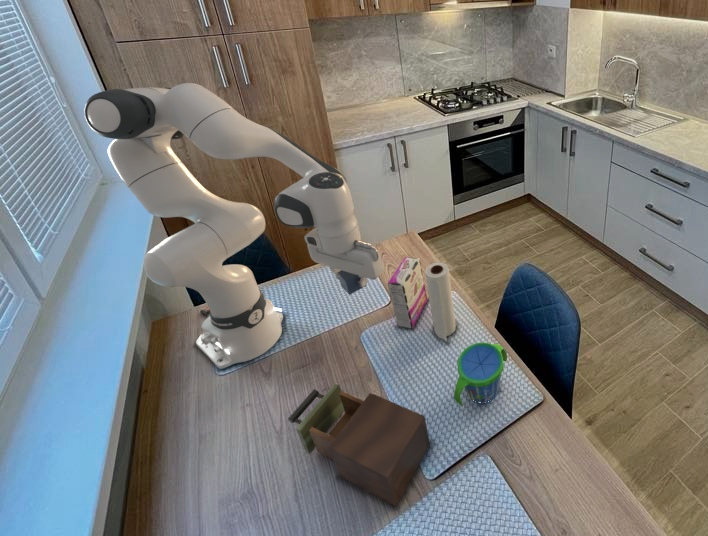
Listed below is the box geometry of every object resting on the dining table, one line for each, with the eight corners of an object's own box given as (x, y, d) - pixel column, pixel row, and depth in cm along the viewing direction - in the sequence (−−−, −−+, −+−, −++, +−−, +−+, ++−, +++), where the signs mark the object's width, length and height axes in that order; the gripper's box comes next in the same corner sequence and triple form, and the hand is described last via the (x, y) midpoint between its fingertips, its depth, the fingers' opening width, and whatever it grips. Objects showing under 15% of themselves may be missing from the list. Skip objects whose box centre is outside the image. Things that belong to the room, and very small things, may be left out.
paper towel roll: (441, 317, 117) (432, 259, 108) (459, 323, 115) (452, 264, 106) (427, 337, 111) (417, 276, 102) (447, 343, 109) (438, 282, 99)
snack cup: (470, 430, 88) (467, 400, 84) (443, 397, 95) (438, 367, 91) (521, 383, 98) (521, 354, 93) (493, 356, 105) (491, 328, 100)
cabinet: (339, 476, 81) (328, 447, 77) (378, 420, 91) (370, 392, 86) (395, 507, 76) (387, 477, 72) (430, 444, 86) (424, 415, 81)
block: (341, 286, 103) (337, 272, 101) (358, 277, 106) (354, 263, 104) (349, 295, 100) (345, 281, 98) (366, 285, 103) (363, 271, 101)
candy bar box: (412, 298, 124) (404, 255, 117) (427, 300, 123) (420, 257, 116) (396, 327, 114) (386, 282, 107) (412, 329, 113) (403, 284, 106)
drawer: (287, 441, 86) (276, 418, 83) (325, 397, 95) (317, 374, 92) (352, 476, 80) (344, 453, 76) (386, 425, 89) (380, 402, 85)
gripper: (384, 238, 95) (393, 283, 101) (318, 221, 102) (330, 264, 108) (366, 254, 90) (377, 300, 96) (298, 235, 97) (312, 279, 103)
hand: (351, 281), depth 102 cm, fingers closed on block, 5 cm apart
